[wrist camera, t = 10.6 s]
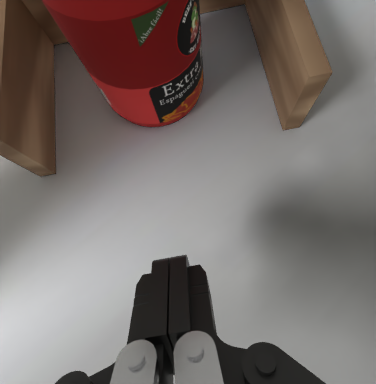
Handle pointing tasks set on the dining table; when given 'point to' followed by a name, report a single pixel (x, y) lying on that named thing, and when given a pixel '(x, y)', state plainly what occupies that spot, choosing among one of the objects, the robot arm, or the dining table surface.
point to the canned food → (138, 53)
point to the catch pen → (52, 35)
